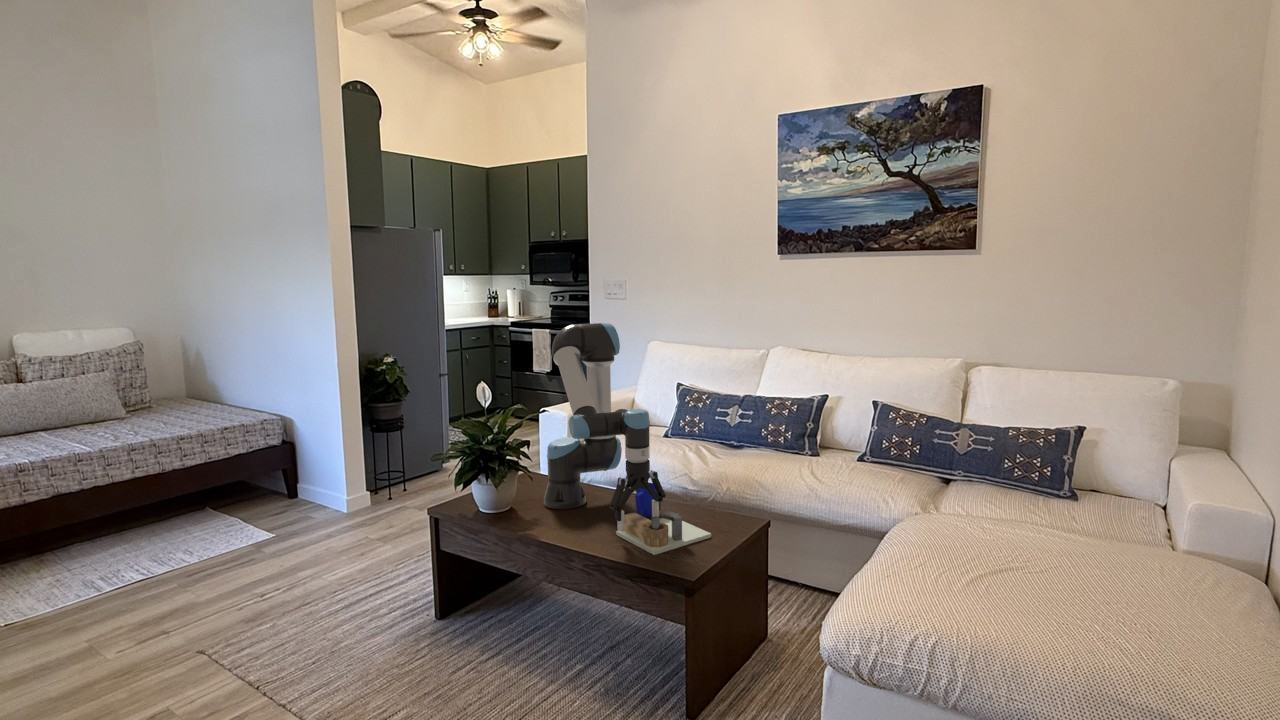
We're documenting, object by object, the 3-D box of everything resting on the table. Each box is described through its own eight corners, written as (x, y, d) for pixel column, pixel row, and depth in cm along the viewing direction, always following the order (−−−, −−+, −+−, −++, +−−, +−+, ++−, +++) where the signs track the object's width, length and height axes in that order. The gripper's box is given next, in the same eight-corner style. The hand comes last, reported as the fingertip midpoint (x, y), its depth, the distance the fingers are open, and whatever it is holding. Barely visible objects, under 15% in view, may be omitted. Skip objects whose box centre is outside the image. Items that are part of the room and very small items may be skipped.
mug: (626, 519, 234) (626, 491, 233) (643, 508, 245) (642, 481, 243) (648, 523, 230) (647, 494, 229) (663, 512, 241) (663, 484, 240)
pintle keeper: (644, 542, 214) (644, 514, 213) (670, 535, 220) (670, 507, 219) (659, 550, 208) (659, 521, 207) (685, 542, 214) (685, 514, 213)
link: (620, 531, 221) (619, 516, 220) (637, 526, 225) (637, 511, 224) (654, 549, 206) (654, 532, 206) (672, 543, 210) (672, 527, 210)
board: (616, 534, 221) (616, 531, 221) (671, 519, 234) (671, 515, 234) (654, 555, 205) (654, 551, 205) (711, 537, 218) (711, 533, 218)
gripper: (611, 469, 205) (612, 538, 208) (676, 455, 220) (676, 520, 222) (597, 463, 211) (598, 530, 214) (661, 450, 226) (662, 513, 228)
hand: (638, 525), depth 218 cm, fingers open, 13 cm apart
